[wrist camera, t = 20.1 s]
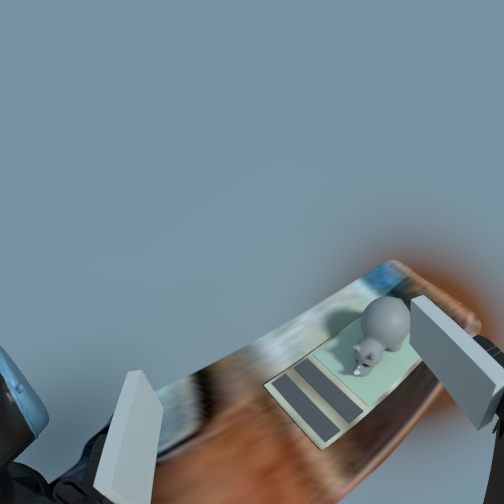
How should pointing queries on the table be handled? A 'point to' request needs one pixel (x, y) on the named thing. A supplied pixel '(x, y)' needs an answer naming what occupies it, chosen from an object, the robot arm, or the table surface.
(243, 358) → the table surface
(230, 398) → the table surface
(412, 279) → the table surface
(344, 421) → the board
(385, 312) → the chubby cartoon animal
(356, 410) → the dark gray parallel strips
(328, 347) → the pad
